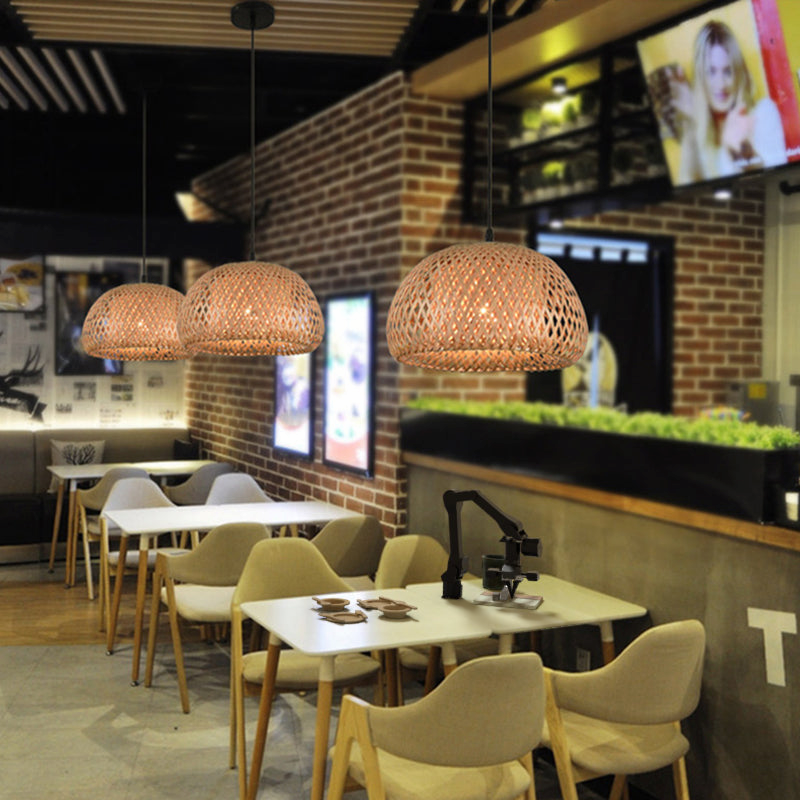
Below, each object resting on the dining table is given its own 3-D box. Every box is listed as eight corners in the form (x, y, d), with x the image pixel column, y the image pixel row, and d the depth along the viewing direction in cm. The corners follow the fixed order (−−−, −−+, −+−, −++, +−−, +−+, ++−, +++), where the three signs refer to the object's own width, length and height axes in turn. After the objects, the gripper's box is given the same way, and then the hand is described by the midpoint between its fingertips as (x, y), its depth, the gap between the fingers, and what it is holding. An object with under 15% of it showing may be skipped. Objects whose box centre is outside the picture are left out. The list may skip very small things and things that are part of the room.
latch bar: (504, 593, 379) (504, 583, 379) (514, 593, 379) (514, 584, 378) (498, 600, 367) (499, 590, 367) (508, 600, 366) (509, 590, 366)
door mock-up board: (473, 603, 367) (473, 593, 367) (484, 594, 384) (484, 585, 384) (534, 609, 361) (535, 599, 361) (542, 599, 378) (543, 590, 378)
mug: (491, 591, 390) (492, 559, 390) (470, 584, 403) (471, 553, 403) (515, 589, 396) (516, 558, 395) (493, 582, 408) (494, 552, 408)
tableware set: (391, 601, 370) (391, 589, 370) (428, 619, 344) (428, 606, 344) (299, 607, 355) (299, 596, 355) (330, 627, 329) (331, 614, 329)
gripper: (482, 557, 362) (481, 601, 362) (535, 560, 357) (534, 605, 357) (488, 552, 373) (488, 595, 373) (540, 555, 367) (539, 598, 368)
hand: (512, 598), depth 367 cm, fingers closed
